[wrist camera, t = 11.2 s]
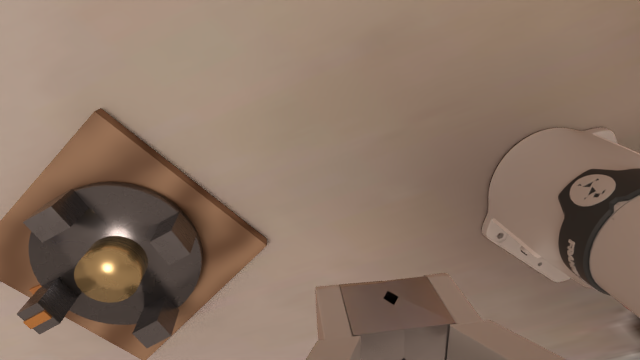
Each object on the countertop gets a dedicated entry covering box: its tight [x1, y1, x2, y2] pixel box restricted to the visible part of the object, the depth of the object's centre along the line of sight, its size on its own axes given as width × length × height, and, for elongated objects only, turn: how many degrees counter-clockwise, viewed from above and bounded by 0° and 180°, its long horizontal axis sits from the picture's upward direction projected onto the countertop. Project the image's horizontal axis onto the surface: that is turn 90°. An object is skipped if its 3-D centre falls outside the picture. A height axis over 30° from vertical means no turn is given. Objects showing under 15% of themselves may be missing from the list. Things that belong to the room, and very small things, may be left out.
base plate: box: [0, 108, 267, 360], centre depth 43 cm, size 22×22×2 cm
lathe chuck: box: [17, 182, 203, 348], centre depth 40 cm, size 17×17×5 cm
